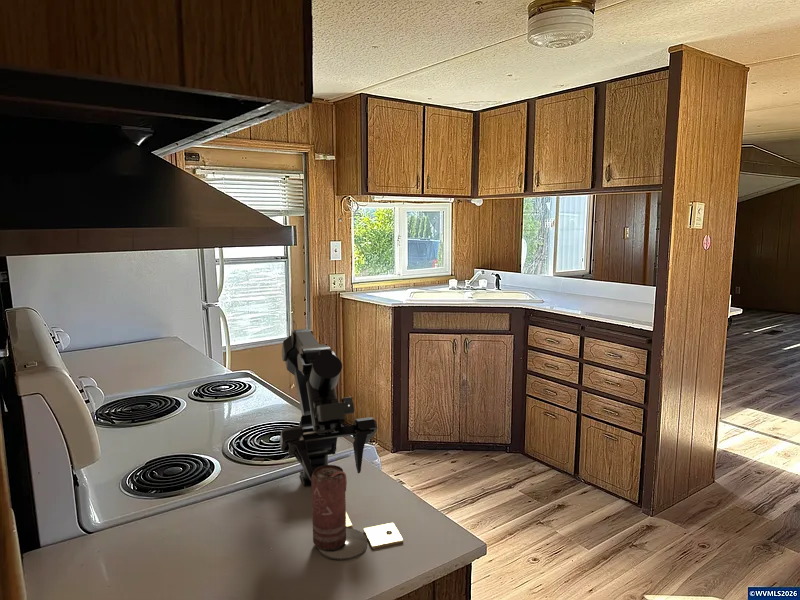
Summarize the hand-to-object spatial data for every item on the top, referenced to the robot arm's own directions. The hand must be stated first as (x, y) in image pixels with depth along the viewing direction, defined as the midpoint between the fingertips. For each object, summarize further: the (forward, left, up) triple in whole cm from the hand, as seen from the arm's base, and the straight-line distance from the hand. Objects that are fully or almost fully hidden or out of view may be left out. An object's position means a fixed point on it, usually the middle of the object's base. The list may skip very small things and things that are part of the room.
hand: (335, 476), depth 105 cm
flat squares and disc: (+2, +3, -11) cm, 12 cm away
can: (+4, -2, -11) cm, 12 cm away
